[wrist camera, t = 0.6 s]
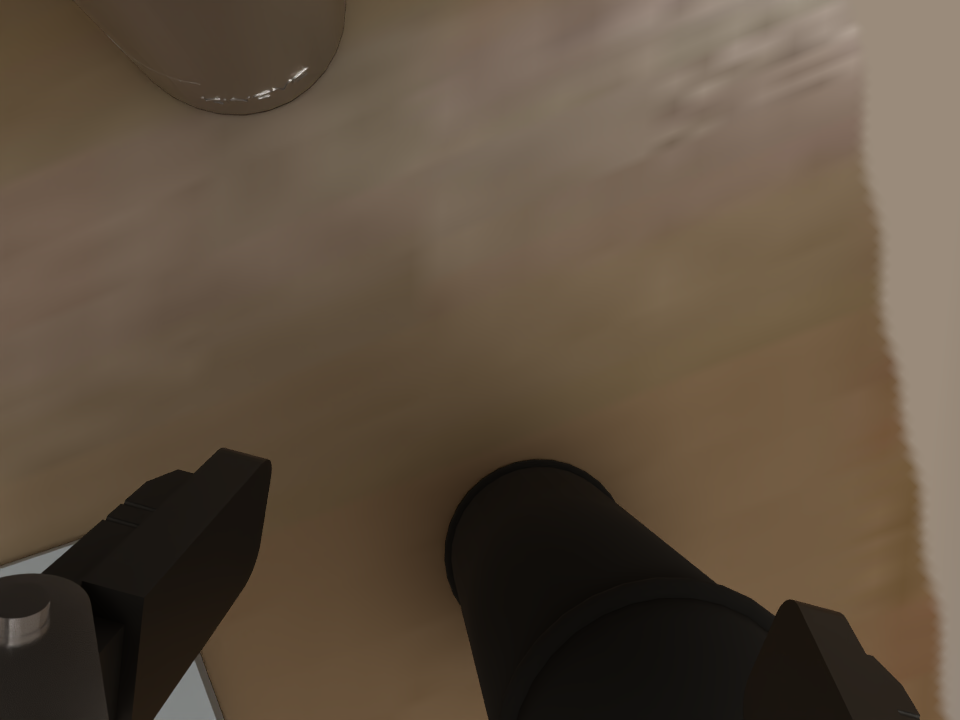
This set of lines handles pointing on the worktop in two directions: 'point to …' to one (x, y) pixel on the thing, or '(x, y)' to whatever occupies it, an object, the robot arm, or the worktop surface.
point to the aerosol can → (591, 607)
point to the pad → (193, 703)
